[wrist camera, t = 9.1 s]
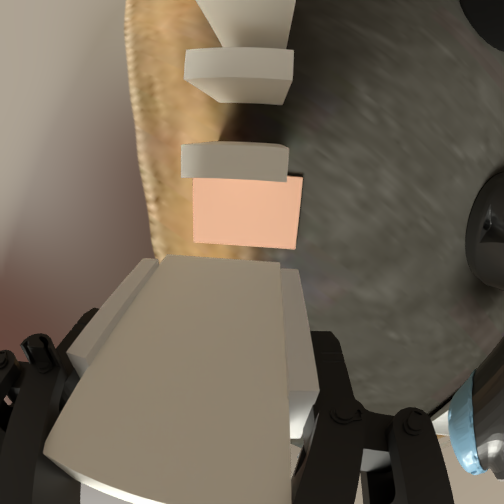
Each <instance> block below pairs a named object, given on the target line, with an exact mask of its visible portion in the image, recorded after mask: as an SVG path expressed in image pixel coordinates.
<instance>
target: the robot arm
mask: <svg viewBox="0 0 504 504" xmlns="http://www.w3.org/2000/svg"><path fill="white" fill-rule="evenodd" d="M466 257H467V261H468V265H469V267H470V269H471V271H472V272H473V274H474V275H475V276H476V277H478V278H479V279H480V280H481V281H482V282H483V283H484V284H486V285H488V286H490V287H495V288H498V289H500V290H503V291H504V172H502V173H499V174H497V175H495V176H493V177H492V178H491V179H490V180H489V181H488V182H487V183H486V184H485V185H484V187H483V188H482V190H481V191H480V193H479V195H478V197H477V199H476V201H475V203H474V205H473V208H472V211H471V214H470V217H469V221H468V226H467V232H466ZM158 266H159V262H158V259H149V258H143V259H142V260H141V261H140V263H139V264H138V265H137V266H136V267H135V268H134V269H133V271H131V273H130V274H129V275H128V276H127V277H126V278H125V280H124V281H123V282H122V283H121V284H120V285H119V286H118V288H117V289H116V290H115V291H114V292H113V293H112V295H111V296H110V297H109V298H108V299H107V301H106V302H105V303H104V304H103V306H102V307H101V308H100V309H98V308H93V309H91V310H90V311H88V312H86V313H85V314H84V315H83V316H82V317H81V318H80V319H79V321H78V322H77V324H75V325H74V327H73V328H72V330H71V331H70V332H69V333H68V334H67V335H66V337H65V338H64V339H63V340H62V342H61V343H60V344H59V346H58V347H57V348H56V349H55V347H54V344H53V342H52V340H51V338H50V337H49V336H48V335H46V334H42V333H40V334H34V335H31V336H29V337H27V338H26V339H25V340H24V341H23V342H22V343H21V345H20V346H21V348H22V350H23V351H24V353H25V355H26V357H27V359H28V361H29V362H21V361H17V359H16V357H15V355H14V354H13V353H12V352H11V351H9V350H2V351H0V504H80V487H81V482H79V481H77V480H75V479H74V478H72V477H71V476H70V475H68V474H67V473H66V472H65V471H63V470H62V469H61V468H60V467H58V466H57V465H56V464H55V463H53V462H52V461H51V460H50V459H49V458H48V457H46V456H45V455H44V454H43V450H44V445H45V441H46V439H47V437H48V435H49V434H50V432H51V430H52V428H53V426H54V424H55V422H56V421H57V419H58V417H59V415H60V413H61V411H62V410H63V408H64V406H65V404H66V403H67V401H68V399H69V398H70V396H71V394H72V392H73V391H74V389H75V387H76V386H77V384H78V382H79V381H80V379H81V377H82V376H83V374H84V373H85V371H86V369H87V368H88V367H89V366H90V365H91V363H92V361H93V360H94V358H95V357H96V355H97V354H98V352H99V350H100V349H101V347H102V346H103V344H104V343H105V341H106V340H107V338H108V337H109V335H110V334H111V332H112V331H113V329H114V328H115V326H116V325H117V323H118V322H119V320H120V319H121V318H122V316H123V315H124V313H125V312H126V310H127V309H128V307H129V306H130V305H131V303H132V302H133V300H134V299H135V298H136V296H137V295H138V293H139V292H140V291H141V289H142V288H143V287H144V285H145V284H146V282H147V281H148V280H149V278H150V277H151V276H152V274H153V273H154V272H155V270H156V269H157V268H158ZM280 278H281V292H282V307H283V322H284V339H285V357H286V377H287V399H289V419H290V438H300V437H301V435H302V433H303V439H304V445H303V447H302V449H301V451H300V453H299V455H298V456H297V458H298V462H297V464H296V468H295V471H294V474H293V476H292V479H291V504H354V502H355V497H356V491H357V487H358V481H359V476H360V474H361V484H362V494H363V504H454V500H453V495H452V490H451V486H450V482H449V478H448V474H447V470H446V466H445V462H444V459H443V455H442V452H441V448H440V445H439V442H438V439H437V435H436V432H435V429H434V426H433V423H432V421H431V419H430V417H429V416H428V415H427V414H426V413H425V412H424V411H423V410H420V409H418V408H412V407H408V408H405V409H402V410H400V411H399V412H398V413H397V414H396V415H395V416H391V415H384V414H378V413H374V412H370V411H368V410H366V409H365V408H364V407H363V405H362V404H361V403H360V402H358V401H357V400H356V399H355V397H354V395H353V391H352V387H351V383H350V379H349V375H348V372H347V368H346V364H345V363H344V357H343V354H342V350H341V346H340V343H339V340H338V339H337V338H336V337H335V336H334V335H333V333H332V332H331V331H310V329H309V323H308V318H307V312H306V307H305V302H304V296H303V291H302V286H301V281H300V276H299V271H298V269H282V268H281V273H280ZM6 395H7V396H8V397H9V399H10V400H11V401H12V404H11V405H7V403H6V402H5V401H4V398H5V396H6ZM448 430H449V436H450V440H451V444H452V447H453V450H454V452H455V455H456V457H457V459H458V461H459V463H460V464H461V466H462V467H463V468H464V469H465V470H466V471H467V472H469V473H470V472H471V474H473V475H478V474H481V473H484V472H486V471H487V470H488V469H489V468H490V469H491V470H492V471H493V473H494V474H495V476H496V478H497V480H499V481H504V336H503V338H502V339H501V340H500V342H499V343H498V344H497V346H496V347H495V348H494V349H493V351H492V352H491V353H490V354H489V355H488V357H487V358H486V359H485V360H484V361H483V362H482V364H481V365H480V366H479V367H478V368H476V369H475V370H474V371H473V372H472V373H471V375H470V377H469V378H468V380H467V381H466V382H465V383H464V384H463V385H462V386H461V387H460V388H459V389H458V391H457V392H456V393H455V394H454V396H453V398H452V400H451V402H450V405H449V410H448Z"/></svg>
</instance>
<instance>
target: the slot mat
mask: <svg viewBox="0 0 504 504" xmlns="http://www.w3.org/2000/svg"><path fill="white" fill-rule="evenodd" d="M302 181H303V177H297V176H287V182H274V181H260V180H243V179H220V178H193V236H194V242H197V243H212V244H227V245H241V246H255V247H269V248H283V249H295V247H296V238H297V230H298V221H299V212H300V202H301V192H302Z"/></svg>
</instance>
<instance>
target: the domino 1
mask: <svg viewBox="0 0 504 504" xmlns="http://www.w3.org/2000/svg"><path fill="white" fill-rule="evenodd" d="M280 273H281V271H280V263H279V262H265V261H251V260H236V259H223V258H209V257H195V256H182V255H169V254H167V255H166V257H165V258H164V259H163V260H162V262H161V263H160V264H159V266H158V268H157V269H156V270H155V272H154V273H153V274H152V276H151V277H150V278H149V280H148V281H147V282H146V284H145V285H144V287H143V288H142V289H141V291H140V292H139V293H138V295H137V296H136V298H135V299H134V300H133V302H132V303H131V305H130V306H129V307H128V309H127V310H126V312H125V313H124V315H123V316H122V318H121V319H120V320H119V322H118V323H117V325H116V326H115V328H114V329H113V331H112V332H111V334H110V335H109V337H108V338H107V340H106V341H105V343H104V344H103V346H102V347H101V349H100V350H99V352H98V354H97V355H96V357H95V358H94V360H93V361H92V363H91V365H90V366H89V367H88V368H87V369H86V371H85V373H84V374H83V376H82V377H81V379H80V381H79V382H78V384H77V386H76V387H75V389H74V391H73V392H72V394H71V396H70V398H69V399H68V401H67V403H66V404H65V406H64V408H63V410H62V411H61V413H60V415H59V417H58V419H57V421H56V422H55V424H54V426H53V428H52V430H51V432H50V434H49V435H48V437H47V439H46V441H45V445H44V450H43V454H44V455H45V456H46V457H48V458H49V459H50V460H51V461H52V462H53V463H55V464H56V465H57V466H58V467H60V468H61V469H62V470H63V471H65V472H66V473H67V474H68V475H70V476H71V477H72V478H74V479H75V480H77V481H79V482H81V483H84V484H86V485H88V486H90V487H92V488H95V489H97V490H99V491H102V492H104V493H107V494H109V495H112V496H114V497H117V498H120V499H122V500H125V501H128V502H131V503H134V504H291V449H290V419H289V399H287V377H286V357H285V339H284V322H283V307H282V292H281V278H280Z"/></svg>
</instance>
